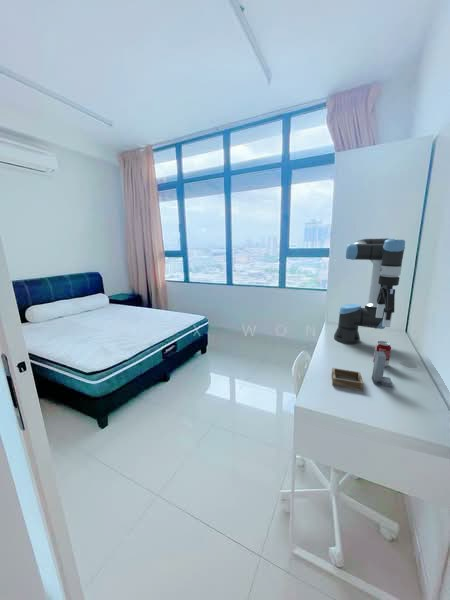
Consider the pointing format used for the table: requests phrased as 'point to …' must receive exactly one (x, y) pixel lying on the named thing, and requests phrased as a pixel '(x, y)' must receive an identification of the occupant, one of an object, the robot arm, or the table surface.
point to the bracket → (380, 370)
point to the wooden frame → (347, 379)
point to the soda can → (383, 350)
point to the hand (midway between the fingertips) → (382, 322)
